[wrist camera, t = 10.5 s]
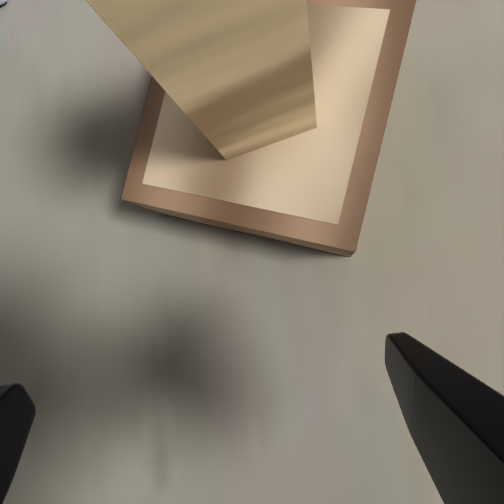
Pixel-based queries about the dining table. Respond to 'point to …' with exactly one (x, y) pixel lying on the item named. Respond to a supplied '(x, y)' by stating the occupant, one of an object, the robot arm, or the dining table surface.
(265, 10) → the oak block
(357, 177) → the plinth
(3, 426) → the robot arm
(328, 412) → the dining table surface
